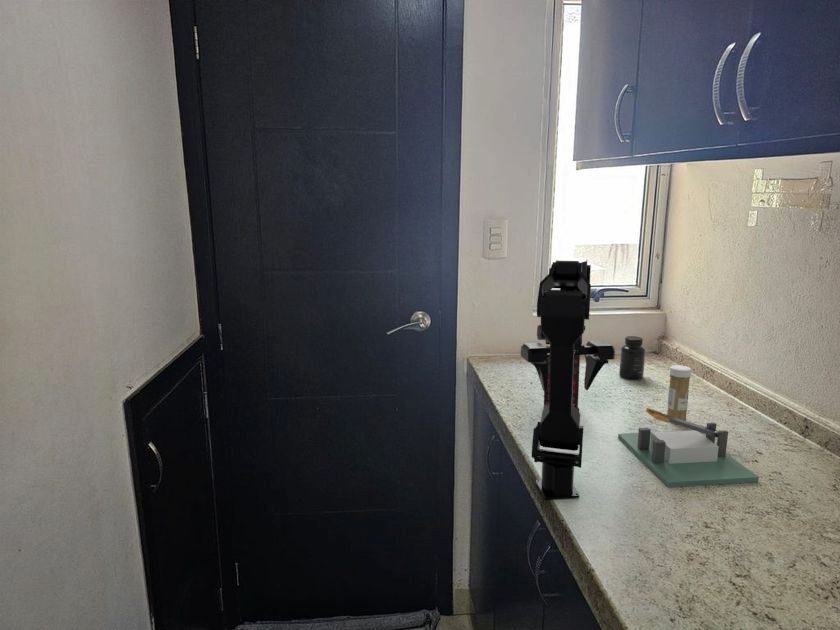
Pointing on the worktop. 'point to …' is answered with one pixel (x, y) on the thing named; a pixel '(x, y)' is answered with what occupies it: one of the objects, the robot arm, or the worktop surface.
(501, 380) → the worktop surface
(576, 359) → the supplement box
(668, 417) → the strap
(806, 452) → the worktop surface
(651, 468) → the board
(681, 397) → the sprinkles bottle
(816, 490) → the worktop surface
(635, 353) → the supplement bottle
